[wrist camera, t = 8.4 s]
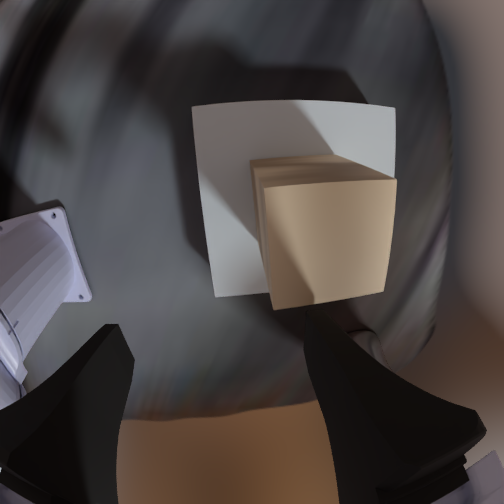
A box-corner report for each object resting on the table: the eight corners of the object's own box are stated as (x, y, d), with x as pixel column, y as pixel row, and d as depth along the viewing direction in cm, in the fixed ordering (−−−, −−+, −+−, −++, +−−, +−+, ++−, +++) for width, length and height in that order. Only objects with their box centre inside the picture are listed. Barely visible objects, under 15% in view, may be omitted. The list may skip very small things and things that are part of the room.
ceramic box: (217, 269, 20) (215, 297, 17) (199, 110, 15) (191, 106, 12) (361, 255, 20) (381, 278, 17) (367, 108, 15) (395, 108, 12)
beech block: (257, 241, 15) (273, 310, 10) (249, 160, 13) (263, 187, 8) (335, 232, 15) (383, 291, 10) (335, 154, 13) (396, 179, 8)
